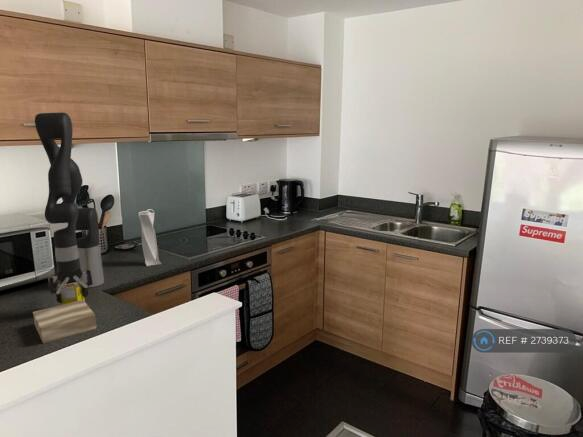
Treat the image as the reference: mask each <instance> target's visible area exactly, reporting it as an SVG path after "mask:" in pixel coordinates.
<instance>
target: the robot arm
mask: <svg viewBox="0 0 583 437" xmlns="http://www.w3.org/2000/svg"><path fill="white" fill-rule="evenodd" d="M34 127H35V129H36V132H37V136H38V137H39V140H40V142H41V144H42V146H43V149H44V151H45V154H46V155H47V158H48V161H49V164H50V166H49V169H48V172H47V173H48V174H47V179H48V181H47V182H48V198H47V201H46V206H45V209H44V219H45V220H46V222H48V223H49V224H53V225H54V224H67V226H66V227H63V228H60V229H57V230H55V231H54V232H53V240H54V248H55V249H54V251H55V252H54V254H55V262H56V270H57V274H56V275H54V276H52V275H49V276H47V280H48V291H49V293H50V294H52V295H53V294H54V295H55V299H56V301H57V303H59V304H62V299H61V293H60V292H61V290H62V289H63V288H64V286H65V285H66V284H68V283H73V282H79V283H80V284H81V285H82V286H83V295H84V299H85V298H88V296H89V288H95V287H98V286H102V285H103V284H104V282H105V280H104V269H103V261H102V253H101V245H100V232H99V231H100V230H99V218H98V213H97V212H98V211H97V210H96V209H95V208H94V207H79V208H78V206H77V205H76V198H77V196H78V194H79V193H80V191H81V188H82V186H83V176H82V173H81V170H80V166H79V165H78V163H76V161H74V159H72V149H73V148H72V147H73V122H72V119H71V117H70V116H69V114H68V113H66V112H42V113H41V112H40V113H37V114H36V115H35V116H34ZM55 140H60V146H59V145H58V143H57V142H56V141H55ZM60 199H61V200H62V203H57V202H58V201H59V200H60ZM76 231H87V232H88V233H87V234H86V235H84V236H81V237H78V238H77V236H76ZM81 279H82V280H81ZM56 280H58V284H57V286H56V288H55V286H54V285H55V284H54V283H56ZM61 283H62V284H61ZM60 284H61V285H60ZM59 285H60V286H59Z"/></svg>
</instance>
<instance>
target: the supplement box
mask: <svg viewBox="0 0 583 437" xmlns="http://www.w3.org/2000/svg"><path fill="white" fill-rule="evenodd" d="M81 280H82V279H81ZM61 284H62V283H61ZM61 284H60V285H61ZM60 285H59V286H60ZM60 293H61V299H62V303H61V305H64V304H68V303H72V302H76V301H80V300H84V302H85V303H86V301H85V297H84V295H83V286H82V285H81V284H80V283H79V282H73V283H68V284H66V285H65V286H64V288H63V289H62V290H61V292H60Z"/></svg>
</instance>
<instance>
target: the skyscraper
mask: <svg viewBox="0 0 583 437" xmlns="http://www.w3.org/2000/svg"><path fill="white" fill-rule="evenodd" d="M151 211H152V212H151ZM138 217H139V218H138V219H139V222H140V226H141V246H142V251H143V257H144V260H145V261H144V265H145V266H146V267H151V266H157V265H162V262H161V261H160V257H159V256H160V255H159V249H158V248H159V246H158V245H157V244H158V243H157V234H156V231H155V228H154V224H155V210H153V209H152V208H150V209H146V210H143V211H139V212H138Z"/></svg>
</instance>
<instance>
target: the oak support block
mask: <svg viewBox="0 0 583 437" xmlns="http://www.w3.org/2000/svg"><path fill="white" fill-rule="evenodd" d="M32 316H33V321H34V326H35V328H36V332H37V333H38V335H39V338H40V339H41V340H40V341H41V342H42V344H46V343H50V342H53V341H57V340H60V339H63V338H66V337H70V336H74V335H79V334H81V333H85V332H88V331H91V330H96V329H98V328H97V327H98V326H97V320H96V319H97V318H96V314H95V312H94V311H93V310H92V309H91V308H90V306H89V305H88V304H87V303H86V301H85V302H84V300H80V301H76V302H72V303H68V304H64V305H62V304H60V305H56V306H52V307H48V308H44V309H40V310H36V311H32Z"/></svg>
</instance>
